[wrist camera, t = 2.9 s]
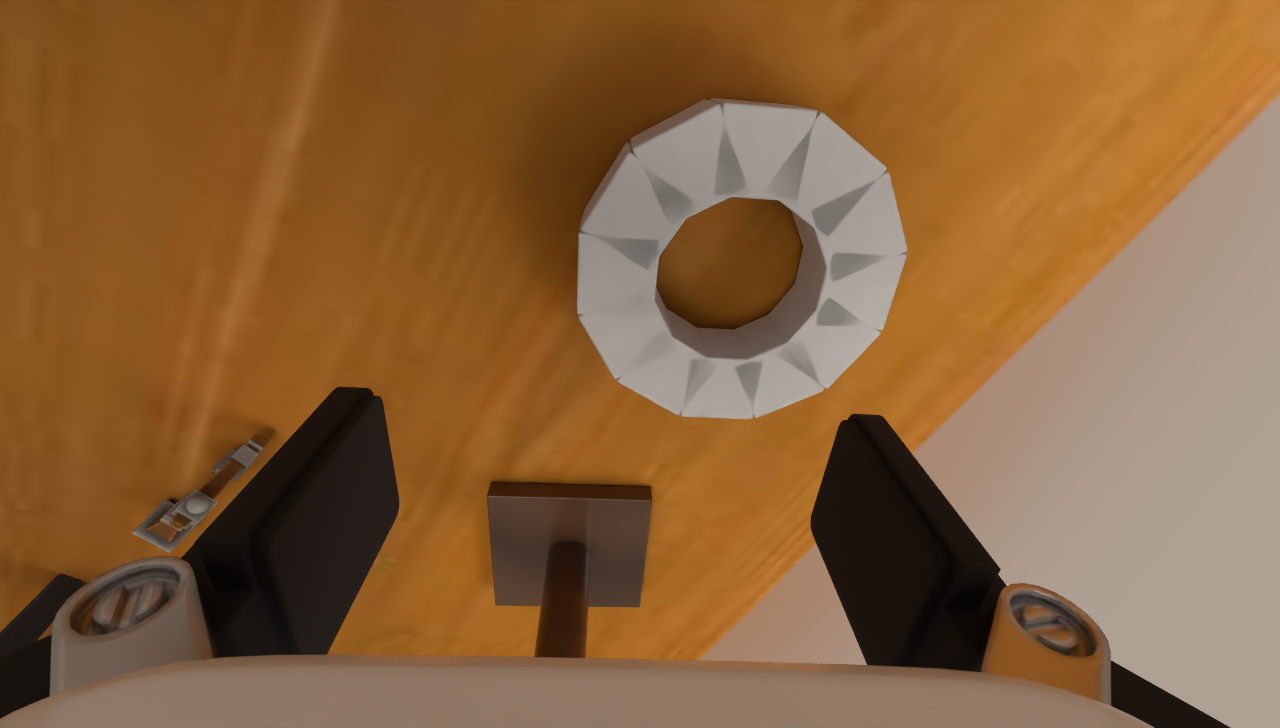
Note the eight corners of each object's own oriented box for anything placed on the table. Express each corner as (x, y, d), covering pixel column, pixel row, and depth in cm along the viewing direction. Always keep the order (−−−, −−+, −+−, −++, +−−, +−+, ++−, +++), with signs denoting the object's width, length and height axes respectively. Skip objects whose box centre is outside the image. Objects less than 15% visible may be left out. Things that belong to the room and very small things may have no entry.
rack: (490, 481, 27) (421, 715, 17) (651, 486, 27) (671, 714, 18) (498, 590, 31) (445, 831, 21) (638, 592, 31) (650, 827, 21)
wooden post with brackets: (288, 443, 24) (204, 534, 21) (239, 479, 29) (166, 556, 26) (250, 418, 23) (157, 508, 20) (207, 459, 28) (127, 536, 25)
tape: (585, 87, 18) (581, 90, 16) (909, 114, 19) (951, 121, 17) (578, 377, 24) (574, 413, 22) (829, 389, 25) (853, 424, 22)
